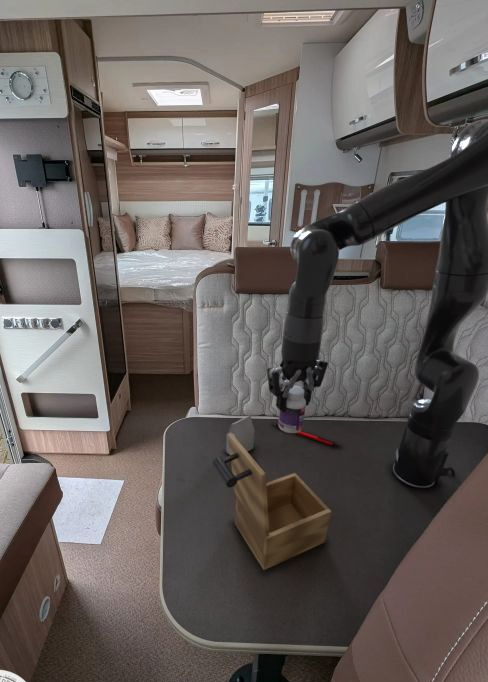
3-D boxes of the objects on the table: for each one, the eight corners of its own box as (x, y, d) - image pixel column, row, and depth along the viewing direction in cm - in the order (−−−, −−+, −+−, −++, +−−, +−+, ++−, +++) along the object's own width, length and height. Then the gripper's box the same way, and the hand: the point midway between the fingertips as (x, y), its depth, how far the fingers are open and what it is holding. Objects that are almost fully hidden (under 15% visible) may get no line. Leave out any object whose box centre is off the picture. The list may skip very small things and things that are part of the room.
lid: (231, 432, 66) (203, 443, 64) (265, 473, 57) (234, 488, 55) (238, 491, 74) (213, 502, 72) (269, 535, 64) (241, 550, 62)
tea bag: (253, 448, 100) (255, 418, 96) (235, 458, 96) (237, 428, 92) (243, 441, 103) (245, 412, 98) (226, 451, 99) (227, 421, 94)
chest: (290, 502, 83) (295, 472, 79) (324, 542, 74) (331, 511, 70) (234, 523, 78) (236, 493, 74) (263, 570, 68) (267, 538, 64)
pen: (337, 448, 101) (338, 444, 100) (273, 426, 110) (274, 423, 109) (338, 446, 101) (339, 443, 101) (275, 424, 110) (275, 421, 110)
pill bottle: (302, 435, 79) (308, 397, 75) (277, 432, 80) (281, 394, 76) (302, 421, 84) (307, 385, 80) (278, 418, 85) (282, 382, 81)
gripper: (282, 347, 66) (274, 423, 74) (343, 336, 72) (330, 408, 79) (261, 333, 72) (255, 405, 80) (319, 324, 78) (308, 392, 85)
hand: (293, 406), depth 80 cm, fingers closed on pill bottle, 5 cm apart
